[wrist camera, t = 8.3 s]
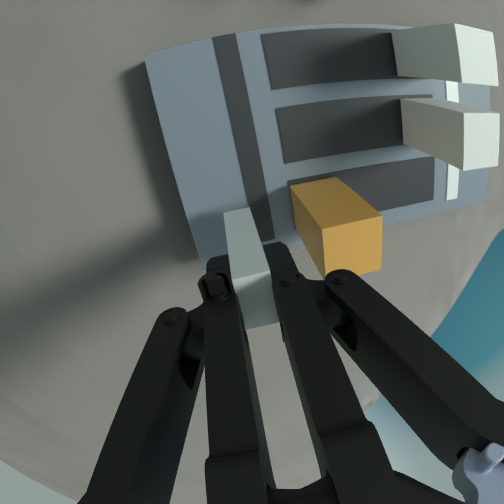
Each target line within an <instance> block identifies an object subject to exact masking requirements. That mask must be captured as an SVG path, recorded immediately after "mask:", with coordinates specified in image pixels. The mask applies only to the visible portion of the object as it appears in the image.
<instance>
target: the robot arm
mask: <svg viewBox="0 0 504 504" xmlns="http://www.w3.org/2000/svg"><path fill="white" fill-rule="evenodd" d="M223 214H224V222H225V230H226V239H227V247H228V254H225V255H220V256H216V257H212V258H210V259H209V261H208V262H207V264H206V271H207V272H206V274H205V275H204V276H202V277H201V278H200V279H199V281H198V286H199V289H200V292H201V295H202V298H203V303H202V304H201V305H200V306H199V307H197V308H195V309H193V310H191V311H189V312H186V310H185V309H183V308H180V307H174V308H170V309H167V310H165V311H164V312H162V313H161V314H160V315H159V317H158V318H157V320H156V322H155V324H154V326H153V329H152V331H151V333H150V335H149V337H148V340H147V342H146V344H145V346H144V349H143V351H142V353H141V355H140V358H139V360H138V362H137V365H136V367H135V369H134V371H133V374H132V376H131V378H130V381H129V383H128V386H127V388H126V390H125V393H124V395H123V398H122V400H121V402H120V405H119V407H118V410H117V412H116V415H115V417H114V420H113V422H112V425H111V427H110V430H109V432H108V435H107V437H106V440H105V443H104V445H103V448H102V450H101V453H100V456H99V458H98V461H97V464H96V466H95V469H94V472H93V475H92V477H91V480H90V483H89V486H88V489H87V492H86V493H85V495H84V496H83V497H82V498H81V500H80V501H79V502H78V503H77V504H169V503H170V499H171V494H172V490H173V486H174V482H175V478H176V474H177V470H178V466H179V462H180V458H181V454H182V450H183V446H184V443H185V439H186V435H187V431H188V427H189V423H190V419H191V415H192V411H193V408H194V404H195V400H196V396H197V392H198V388H199V385H200V381H201V377H202V373H203V369H204V366H205V382H206V404H207V422H208V438H209V457H208V458H207V459H206V461H205V482H206V495H207V504H504V402H502V401H500V400H498V399H496V398H495V397H494V396H492V394H490V393H489V392H488V391H487V390H486V389H485V388H484V387H483V386H482V385H481V384H480V383H479V382H478V381H477V380H476V379H475V378H474V377H473V376H472V375H470V374H469V373H468V372H467V371H466V370H465V369H464V368H463V367H462V366H461V365H460V364H459V363H458V362H457V361H455V360H454V359H453V358H452V357H451V356H450V355H449V354H448V353H447V352H446V351H444V350H443V349H442V348H441V347H440V346H439V345H438V344H437V343H436V342H434V341H433V340H432V339H431V338H430V337H429V336H428V335H427V334H425V333H424V332H423V331H422V330H421V329H420V328H419V327H418V326H416V325H415V324H414V323H413V322H412V321H411V320H410V319H408V318H407V317H406V316H405V315H404V314H403V313H401V312H400V311H399V310H398V309H397V308H396V307H394V306H393V305H392V304H391V303H390V302H389V301H387V300H386V299H385V298H384V297H383V296H382V295H380V294H379V293H378V292H377V291H376V290H374V289H373V288H372V287H371V286H370V285H368V284H367V283H366V282H365V281H364V280H362V279H361V278H360V277H359V276H358V275H356V274H355V273H354V272H352V271H350V270H346V269H337V270H333V271H331V272H329V273H328V274H327V275H326V276H325V280H309V279H306V278H305V277H304V276H303V275H302V274H301V273H299V271H298V269H297V267H296V265H295V262H294V260H293V258H292V256H291V254H290V252H289V249H288V247H287V245H286V244H284V243H282V242H281V241H279V242H274V243H270V244H265V245H262V244H261V241H260V238H259V235H258V232H257V229H256V225H255V222H254V219H253V216H252V213H251V210H250V207H247V208H243V209H238V210H234V211H229V212H225V213H223ZM279 321H280V327H281V332H282V338H283V342H285V346H286V349H287V353H288V356H289V360H290V364H291V367H292V371H293V374H294V378H295V381H296V385H297V389H298V392H299V396H300V399H301V403H302V407H303V410H304V414H305V417H306V421H307V425H308V428H309V432H310V435H311V439H312V443H313V446H314V450H315V454H316V457H317V461H318V465H319V469H320V474H321V479H319V480H318V481H316V482H314V483H312V484H310V485H308V486H305V487H303V488H301V489H277V488H276V484H275V481H274V477H273V473H272V468H271V462H270V457H269V452H268V447H267V441H266V436H265V431H264V425H263V420H262V415H261V409H260V404H259V398H258V393H257V387H256V382H255V376H254V370H253V365H252V359H251V353H250V348H249V342H248V337H247V333H246V330H245V329H250V328H254V327H259V326H263V325H268V324H272V323H276V322H279ZM330 334H331V335H332V336H333V337H334V338H335V340H336V341H337V342H338V343H339V344H340V345H341V347H342V348H343V349H344V350H345V351H346V352H347V354H348V355H349V356H350V357H351V358H352V359H353V361H354V362H355V363H356V364H357V365H358V366H359V368H360V369H361V370H362V371H363V372H364V373H365V375H366V376H367V377H368V378H369V379H370V380H371V382H372V383H373V384H374V385H375V386H376V387H377V389H378V390H379V391H380V392H381V393H382V394H383V396H384V397H385V398H386V399H387V400H388V401H389V403H390V404H391V405H392V406H393V407H394V408H395V410H396V411H397V412H398V413H399V414H400V416H401V417H402V418H403V419H404V420H405V421H406V423H407V424H408V425H409V426H410V427H411V428H412V430H413V431H414V432H415V433H416V434H417V436H418V437H419V438H420V439H421V440H422V441H423V442H424V444H425V445H426V446H427V447H428V448H429V450H430V451H431V452H432V453H433V454H434V455H435V456H436V457H437V458H438V459H439V460H440V461H441V462H442V463H444V464H445V465H446V466H448V467H449V468H450V469H452V470H453V475H452V480H453V484H454V487H455V488H456V489H457V490H458V491H459V492H460V493H461V494H462V495H463V497H464V499H465V503H464V502H462V501H460V500H457V499H455V498H453V497H451V496H448V495H446V494H444V493H442V492H439V491H438V490H435V489H433V488H431V487H429V486H427V485H425V484H423V483H421V482H419V481H417V480H415V479H413V478H411V477H409V476H407V475H405V474H403V473H400V472H397V471H394V470H393V469H392V467H391V464H390V462H389V459H388V457H387V454H386V452H385V449H384V447H383V444H382V442H381V439H380V437H379V434H378V432H377V430H376V428H375V426H374V424H373V423H372V422H370V421H368V420H367V419H366V418H365V415H364V413H363V411H362V408H361V406H360V403H359V401H358V398H357V396H356V394H355V391H354V389H353V386H352V384H351V382H350V379H349V377H348V374H347V372H346V370H345V367H344V365H343V363H342V360H341V358H340V356H339V353H338V351H337V349H336V346H335V344H334V342H333V339H332V337H331V335H330Z"/></svg>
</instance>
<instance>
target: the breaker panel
mask: <svg viewBox="0 0 504 504" xmlns="http://www.w3.org/2000/svg"><path fill="white" fill-rule="evenodd" d="M144 59H145V64H146V68H147V72H148V76H149V81H150V85H151V89H152V93H153V97H154V101H155V105H156V109H157V113H158V117H159V121H160V125H161V128H162V132H163V136H164V140H165V143H166V147H167V151H168V154H169V158H170V162H171V165H172V169H173V172H174V176H175V179H176V183H177V186H178V190H179V193H180V197H181V200H182V203H183V207H184V210H185V214H186V217H187V220H188V223H189V227H190V230H191V233H192V236H193V240H194V243H195V246H196V249H197V252H198V255H199V259H200V262H201V265H202V268H206V264H207V262H208V261H209V259H210V258H212V257H216V256H220V255H225V254H228V247H227V239H226V230H225V222H224V214H223V213H225V212H229V211H234V210H238V209H243V208H247V207H250V210H251V213H252V216H253V219H254V222H255V225H256V229H257V232H258V235H259V238H260V241H261V244H262V245H265V244H270V243H274V242H279V241H281V242H282V243H284V244H286V245H287V247H288V249H289V248H294V247H298V246H302V245H304V243H303V241H302V240H301V238H300V236H299V234H298V232H297V231H296V227H295V220H294V212H293V206H292V199H291V192H290V186H291V185H296V184H301V183H306V182H311V181H316V180H321V179H326V178H331V177H337V178H339V179H340V180H341V181H342V182H343V183H345V184H346V185H347V186H348V187H350V188H351V189H352V190H353V191H354V192H356V193H357V194H358V195H359V196H360V197H362V198H363V199H364V200H365V201H366V202H367V203H369V204H370V205H371V206H372V207H373V208H374V209H376V210H377V211H378V212H379V213H380V214H381V215H382V216H383V220H382V227H383V226H387V225H391V224H396V223H400V222H404V221H408V220H412V219H417V218H421V217H425V216H429V215H433V214H437V213H442V212H446V211H450V210H454V209H458V208H462V207H467V206H471V205H475V204H479V203H483V202H486V193H487V183H488V172H489V167H493V166H498V154H499V113H497V112H493V111H490V91H489V85H492V86H498V73H497V63H496V54H495V46H494V39H493V33H492V32H489V31H485V30H481V29H477V28H473V27H468V26H464V25H459V24H443V25H433V26H424V27H409V26H397V25H382V24H315V25H299V26H288V27H278V28H269V29H261V30H254V31H247V32H241V33H233V34H228V35H222V36H217V37H213V38H209V39H204V40H200V41H195V42H191V43H187V44H183V45H179V46H175V47H171V48H168V49H164V50H161V51H157V52H154V53H151V54H147V55H144Z"/></svg>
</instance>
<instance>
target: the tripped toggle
mask: <svg viewBox="0 0 504 504" xmlns="http://www.w3.org/2000/svg"><path fill="white" fill-rule="evenodd" d="M290 192H291V199H292V206H293V212H294V220H295V227H296V231H297V232H298V234H299V236H300V238H301V240H302V241H303V243H304V245H305V247H306V248H307V250H308V252H309V254H310V256H311V257H312V259H313V261H314V263H315V265H316V266H317V268H318V270H319V272H320V274H321V276H322V277H323V279H324V280H325V276H326V275H327V274H328V273H329V272H331V271H333V270H337V269H346V270H350V271H352V272H354V273H355V274H356V275H362V274H366V273H369V272H373V271H377V270H380V269H381V261H382V220H383V216H382V215H381V214H380V213H379V212H378V211H377V210H376V209H374V208H373V207H372V206H371V205H370V204H369V203H367V202H366V201H365V200H364V199H363V198H362V197H360V196H359V195H358V194H357V193H356V192H354V191H353V190H352V189H351V188H350V187H348V186H347V185H346V184H345V183H343V182H342V181H341V180H340V179H339V178H337V177H331V178H326V179H321V180H316V181H311V182H306V183H301V184H296V185H291V186H290Z"/></svg>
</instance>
